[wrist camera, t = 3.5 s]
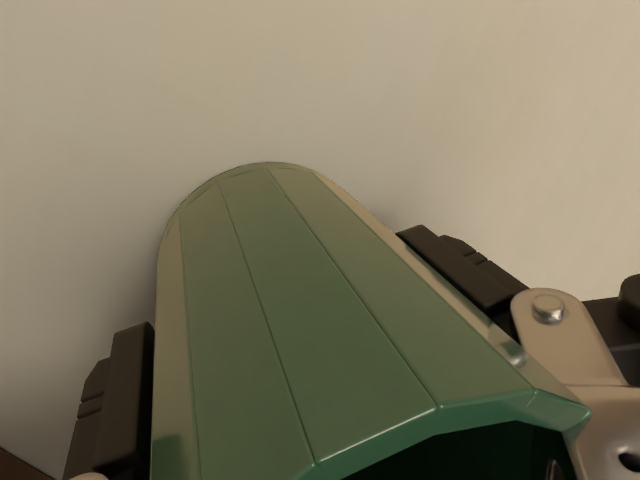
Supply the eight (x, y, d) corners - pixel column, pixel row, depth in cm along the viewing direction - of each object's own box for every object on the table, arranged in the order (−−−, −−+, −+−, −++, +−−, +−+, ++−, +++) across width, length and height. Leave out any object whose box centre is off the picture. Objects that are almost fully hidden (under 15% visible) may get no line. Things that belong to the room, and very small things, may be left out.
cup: (117, 202, 10) (6, 605, 3) (345, 134, 11) (650, 309, 4) (202, 370, 13) (244, 758, 6) (373, 303, 15) (573, 566, 7)
